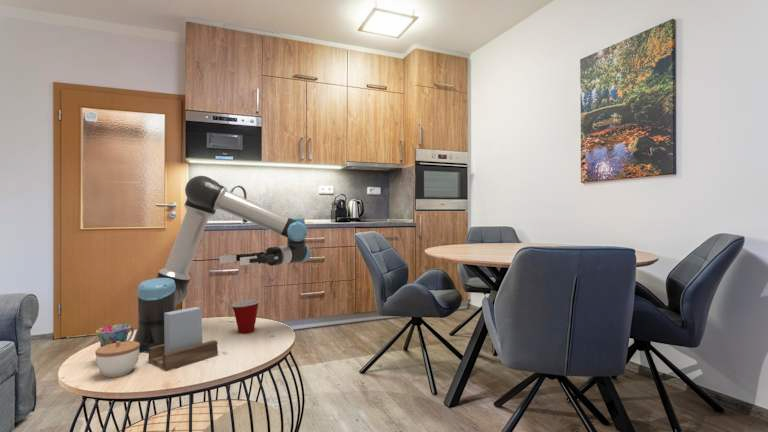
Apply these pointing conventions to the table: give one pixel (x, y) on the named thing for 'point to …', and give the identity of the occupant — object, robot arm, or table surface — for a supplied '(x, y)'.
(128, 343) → the lidded jar
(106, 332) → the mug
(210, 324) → the table surface
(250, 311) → the plastic cup
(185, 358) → the walnut rack
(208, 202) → the robot arm
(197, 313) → the slate tile
